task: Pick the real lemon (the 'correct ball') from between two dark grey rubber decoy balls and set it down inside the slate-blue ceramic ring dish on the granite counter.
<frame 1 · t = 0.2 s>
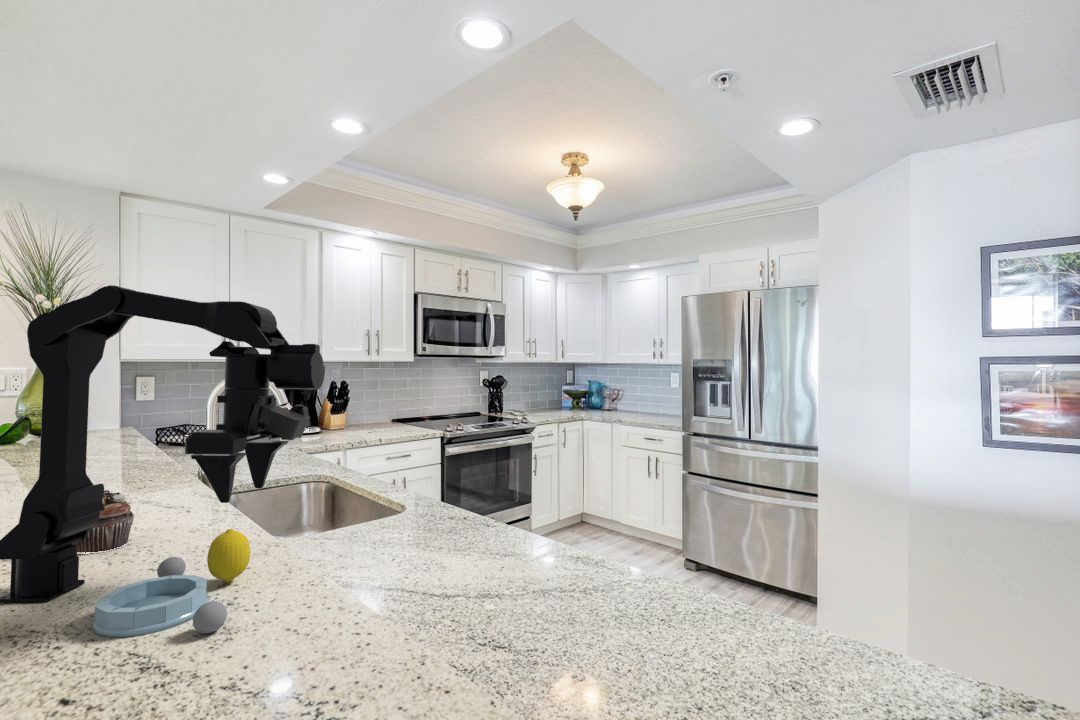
hand: (243, 494, 75), 14 cm above the worktop, fingers open, 9 cm apart
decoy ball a: (171, 580, 77), on the worktop
cupcake: (99, 548, 92), on the worktop
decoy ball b: (209, 631, 62), on the worktop
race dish: (153, 613, 67), on the worktop
lemon: (228, 584, 77), on the worktop
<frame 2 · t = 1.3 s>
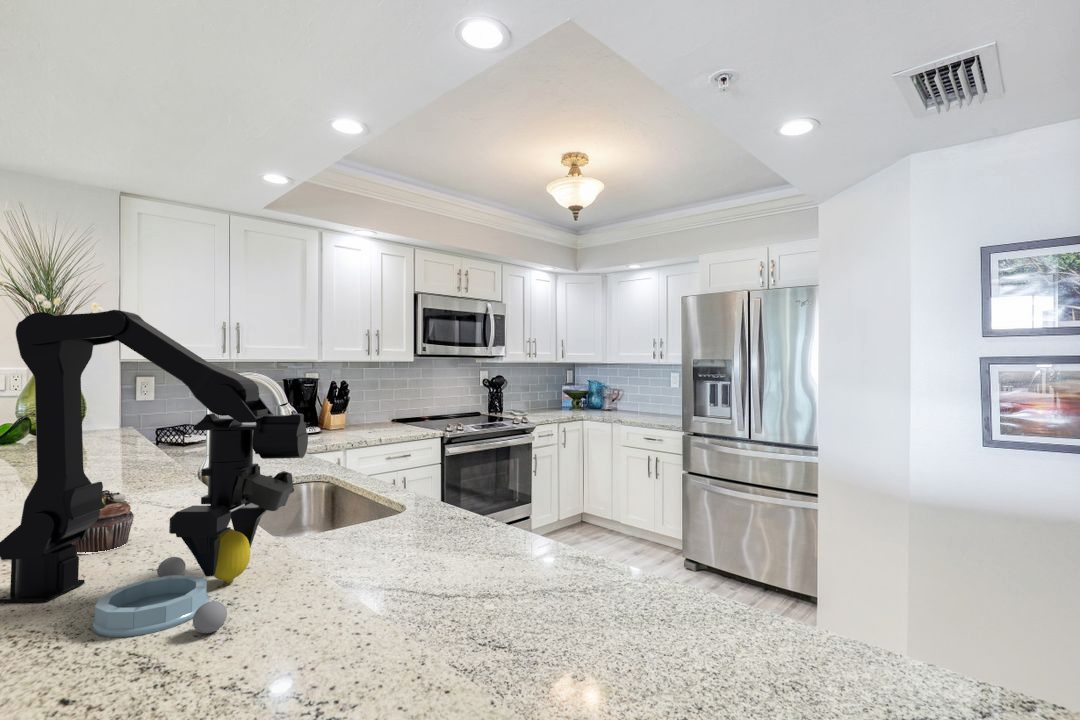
hand: (228, 564, 77), 3 cm above the worktop, fingers open, 9 cm apart
nothing on the worktop moved.
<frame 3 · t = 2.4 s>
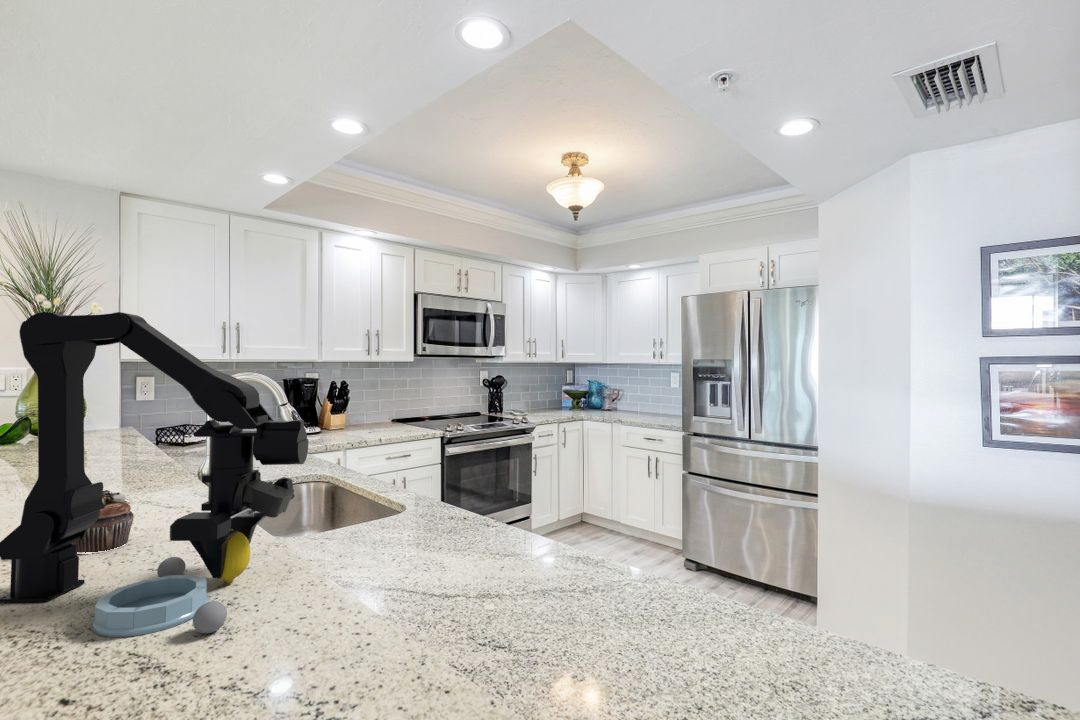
hand: (228, 570, 77), 2 cm above the worktop, fingers closed on lemon, 5 cm apart
lemon: (228, 584, 77), on the worktop, touching gripper
everything else where it was.
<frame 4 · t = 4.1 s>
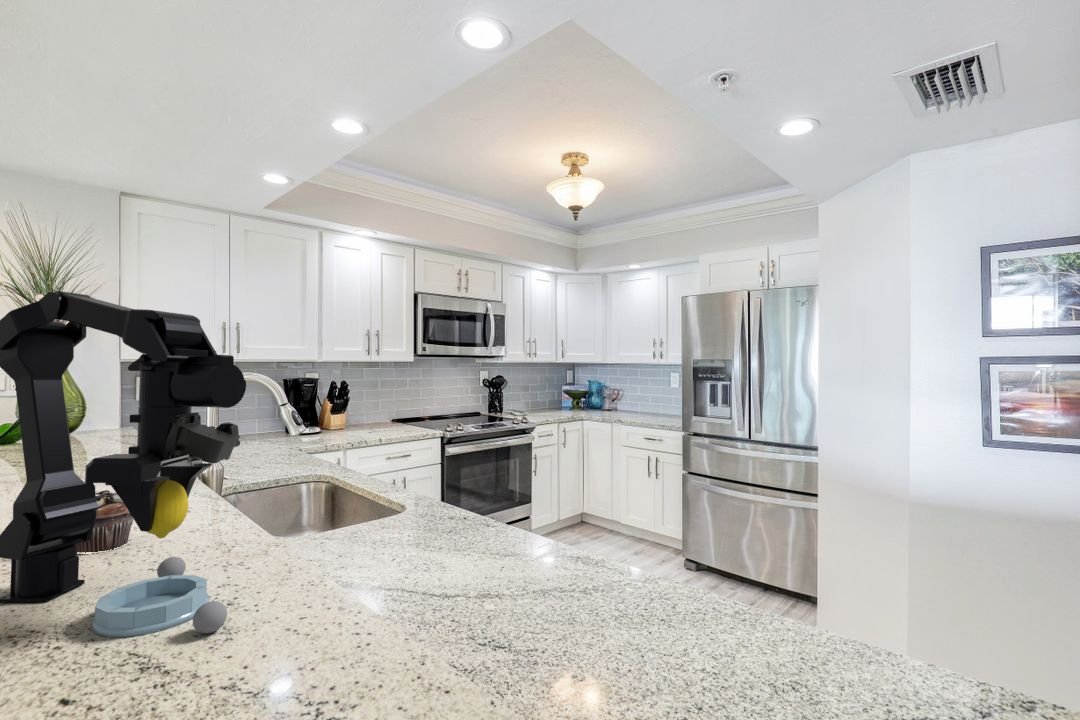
hand: (161, 524, 68), 11 cm above the worktop, fingers closed on lemon, 5 cm apart
lemon: (161, 539, 68), point 9 cm above the worktop, touching gripper
everything else where it was.
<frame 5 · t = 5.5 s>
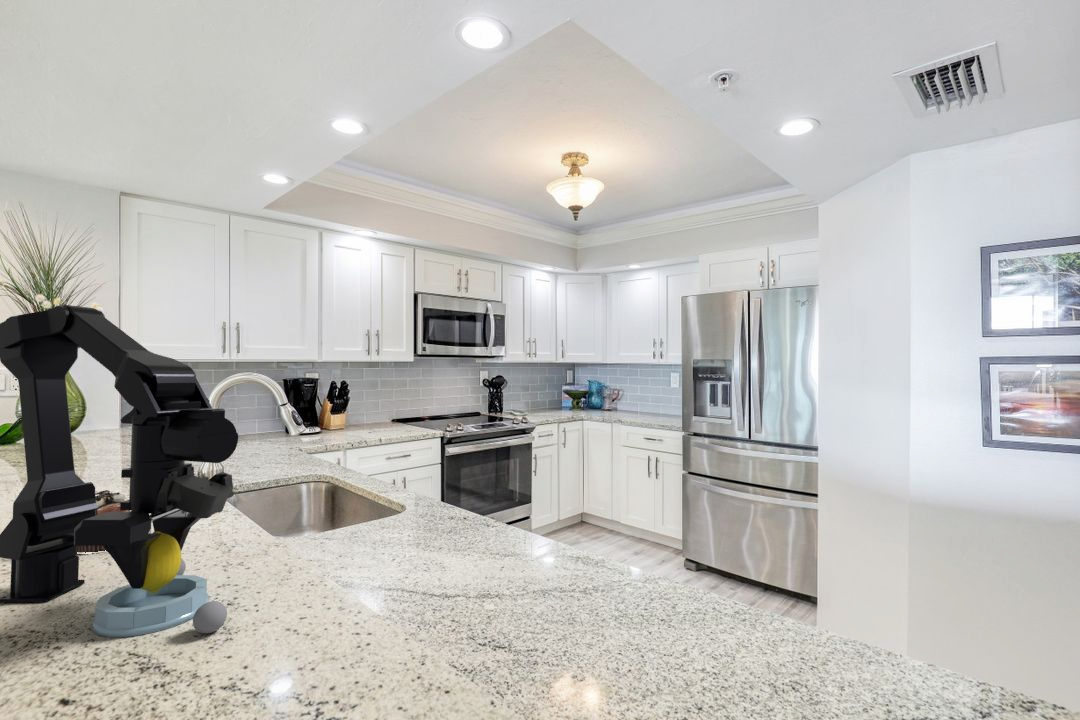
hand: (154, 579, 67), 4 cm above the worktop, fingers closed on lemon, 5 cm apart
lemon: (154, 594, 67), point 2 cm above the worktop, touching gripper
everything else where it was.
when the fingers open (4 cm above the worktop, at t = 6.2 s): lemon drops 2 cm, resting on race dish.
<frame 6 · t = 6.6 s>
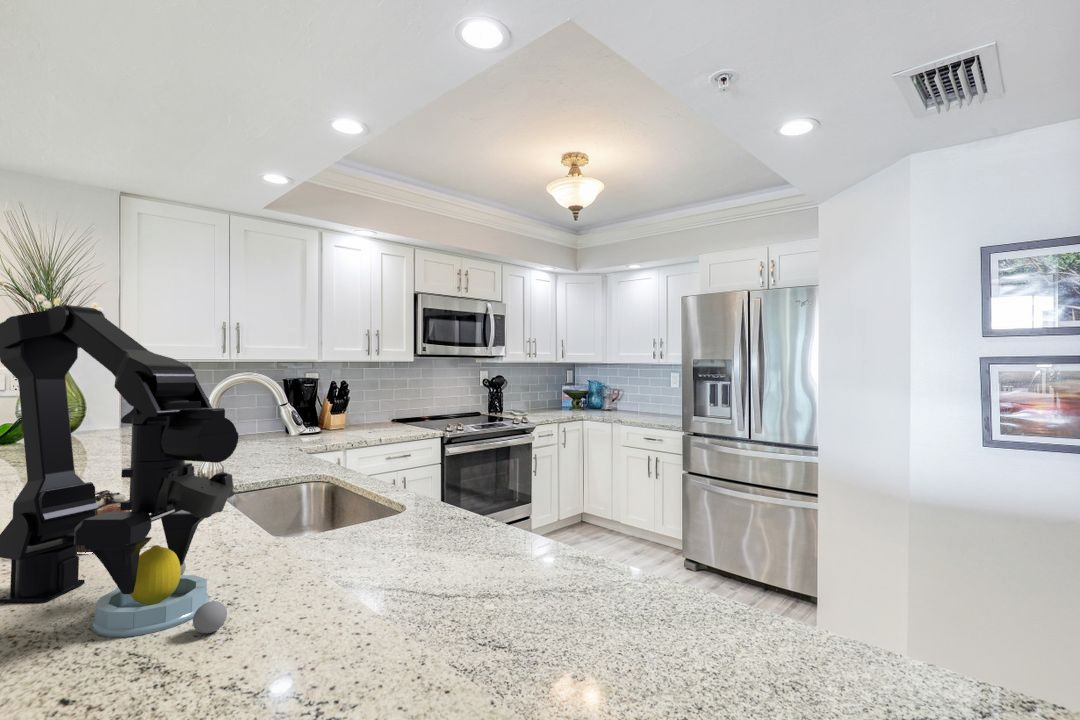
hand: (154, 578, 67), 4 cm above the worktop, fingers open, 9 cm apart
lemon: (154, 608, 67), point 1 cm above the worktop, touching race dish
everything else where it was.
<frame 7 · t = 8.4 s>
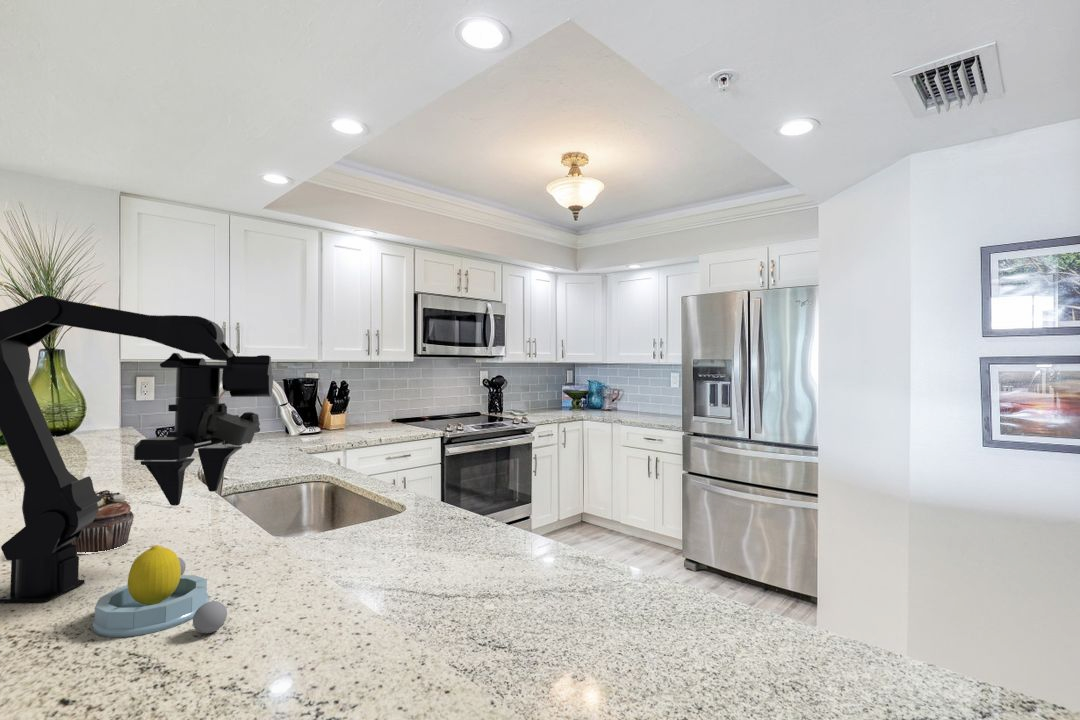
hand: (195, 497, 80), 12 cm above the worktop, fingers open, 9 cm apart
nothing on the worktop moved.
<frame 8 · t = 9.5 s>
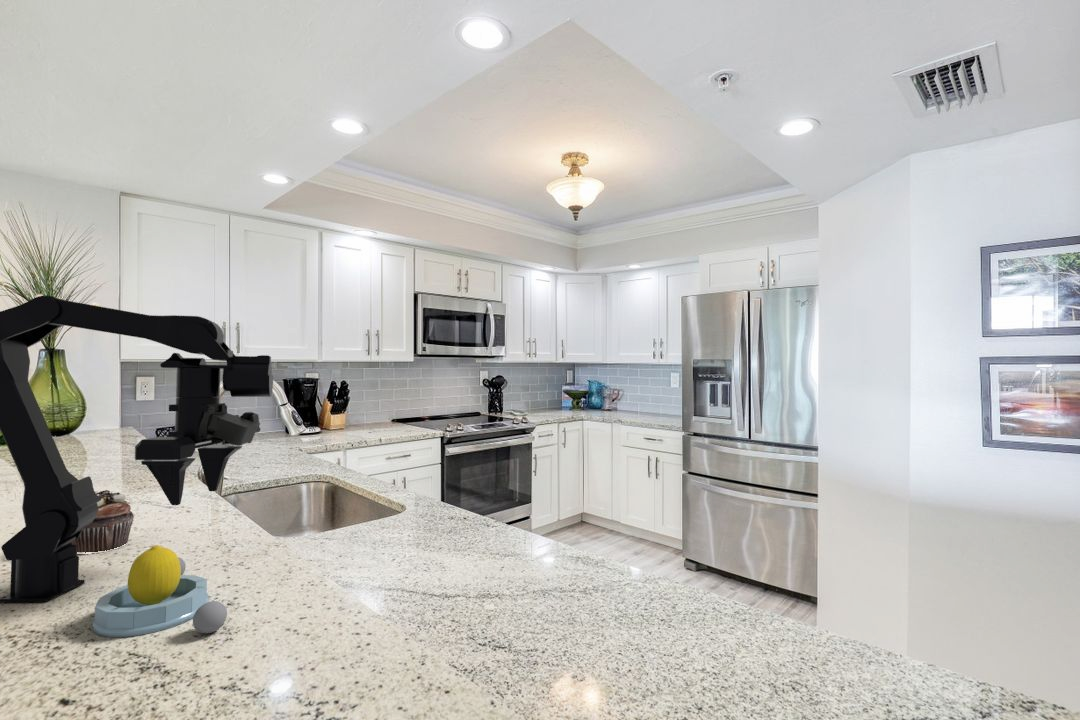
hand: (195, 497, 80), 12 cm above the worktop, fingers open, 9 cm apart
nothing on the worktop moved.
at the end: lemon 0.1 cm from the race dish (horizontally); lemon point 0.6 cm above the worktop; the gripper is holding nothing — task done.
